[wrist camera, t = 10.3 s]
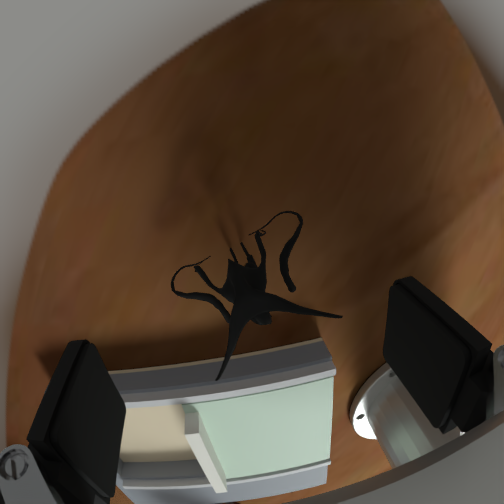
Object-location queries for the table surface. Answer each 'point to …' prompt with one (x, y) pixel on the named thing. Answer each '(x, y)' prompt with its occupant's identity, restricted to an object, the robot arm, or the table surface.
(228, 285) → the creature
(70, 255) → the table surface
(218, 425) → the lid
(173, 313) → the table surface
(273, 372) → the framed board
